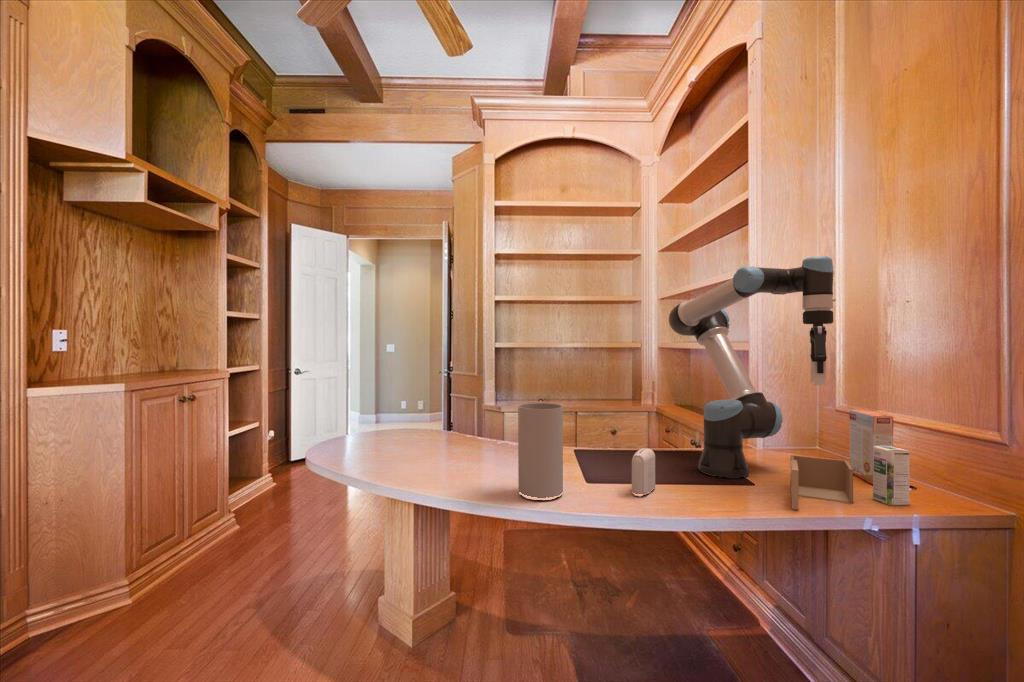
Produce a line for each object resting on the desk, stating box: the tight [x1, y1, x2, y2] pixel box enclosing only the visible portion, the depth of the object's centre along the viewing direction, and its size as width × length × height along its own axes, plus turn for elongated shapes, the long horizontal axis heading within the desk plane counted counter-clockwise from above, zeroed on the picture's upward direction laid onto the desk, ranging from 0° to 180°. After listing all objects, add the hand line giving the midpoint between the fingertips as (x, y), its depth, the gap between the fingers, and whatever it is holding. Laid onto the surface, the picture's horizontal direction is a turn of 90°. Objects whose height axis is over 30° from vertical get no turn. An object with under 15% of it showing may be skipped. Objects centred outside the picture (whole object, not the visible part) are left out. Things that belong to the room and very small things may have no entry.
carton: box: [790, 454, 854, 504], centre depth 134 cm, size 14×11×9 cm
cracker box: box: [849, 409, 894, 485], centre depth 147 cm, size 14×6×21 cm, turn 168°
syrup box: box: [872, 446, 911, 506], centre depth 127 cm, size 6×6×14 cm
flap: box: [790, 459, 800, 511], centre depth 126 cm, size 12×2×10 cm, turn 151°
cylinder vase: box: [517, 402, 564, 498], centre depth 134 cm, size 12×12×25 cm
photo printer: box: [631, 447, 656, 495], centre depth 136 cm, size 10×4×12 cm, turn 144°
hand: (818, 383), depth 138 cm, fingers open, 13 cm apart
